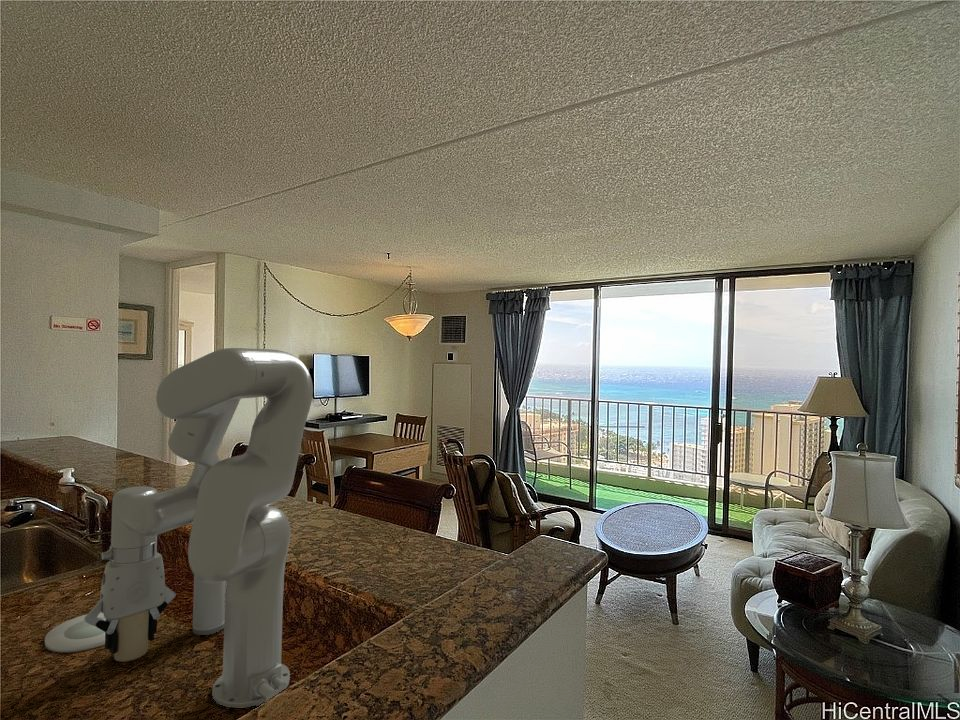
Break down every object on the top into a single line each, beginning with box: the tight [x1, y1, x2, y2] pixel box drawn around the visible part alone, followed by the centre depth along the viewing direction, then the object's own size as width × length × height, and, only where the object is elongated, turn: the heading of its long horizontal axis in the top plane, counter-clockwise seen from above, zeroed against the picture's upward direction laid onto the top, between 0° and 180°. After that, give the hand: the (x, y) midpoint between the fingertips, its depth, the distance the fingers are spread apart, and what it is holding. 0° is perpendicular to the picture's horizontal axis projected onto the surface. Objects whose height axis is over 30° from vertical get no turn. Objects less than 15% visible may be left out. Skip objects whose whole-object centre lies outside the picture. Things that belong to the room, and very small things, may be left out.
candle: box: [113, 610, 149, 663], centre depth 101 cm, size 6×6×10 cm
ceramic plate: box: [44, 612, 106, 653], centre depth 108 cm, size 15×15×1 cm
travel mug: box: [192, 574, 228, 636], centre depth 111 cm, size 6×7×20 cm
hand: (131, 643), depth 101 cm, fingers closed on candle, 5 cm apart
